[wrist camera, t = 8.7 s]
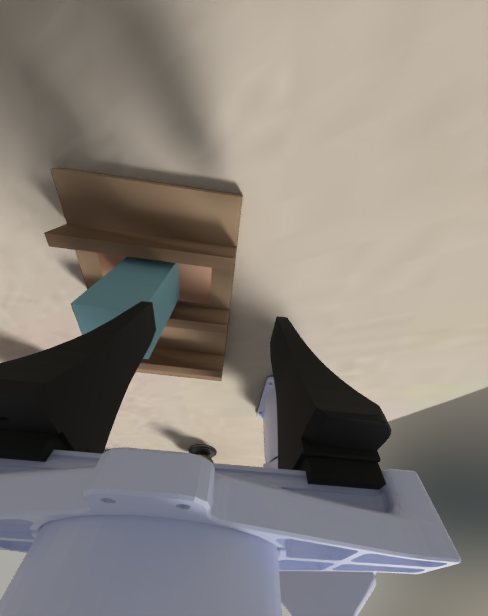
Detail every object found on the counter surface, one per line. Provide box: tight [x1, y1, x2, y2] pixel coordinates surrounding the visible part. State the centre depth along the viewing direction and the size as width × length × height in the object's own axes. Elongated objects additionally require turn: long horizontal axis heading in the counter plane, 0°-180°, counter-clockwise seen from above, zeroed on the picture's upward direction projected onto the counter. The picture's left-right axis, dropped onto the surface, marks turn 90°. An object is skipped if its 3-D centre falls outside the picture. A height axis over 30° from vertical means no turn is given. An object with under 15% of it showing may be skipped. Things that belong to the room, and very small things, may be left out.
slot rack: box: [44, 168, 243, 381], centre depth 22 cm, size 22×14×4 cm, turn 173°
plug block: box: [71, 257, 179, 359], centre depth 18 cm, size 4×4×8 cm
